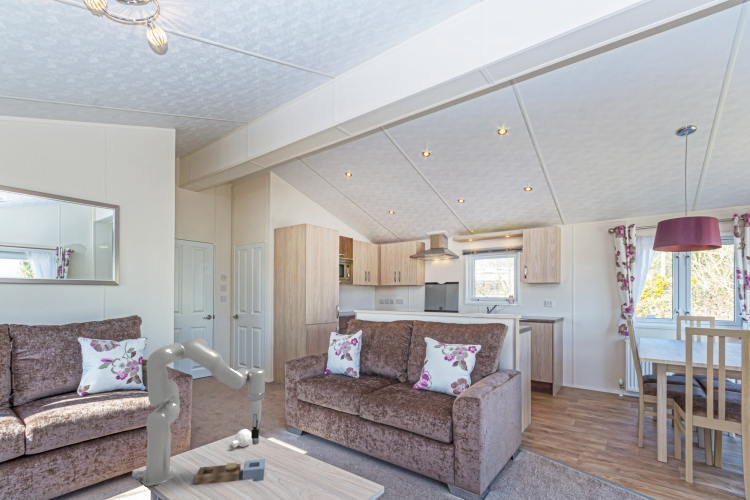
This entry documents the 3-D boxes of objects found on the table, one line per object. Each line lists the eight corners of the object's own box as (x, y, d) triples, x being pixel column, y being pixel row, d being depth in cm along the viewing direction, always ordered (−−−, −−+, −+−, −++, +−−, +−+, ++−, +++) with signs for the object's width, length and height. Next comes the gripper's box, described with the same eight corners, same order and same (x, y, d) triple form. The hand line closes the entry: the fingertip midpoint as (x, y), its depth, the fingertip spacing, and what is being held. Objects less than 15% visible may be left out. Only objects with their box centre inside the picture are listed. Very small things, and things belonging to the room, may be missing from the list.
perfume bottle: (243, 437, 221) (226, 447, 210) (246, 423, 219) (229, 432, 209) (254, 444, 217) (237, 455, 206) (257, 430, 215) (240, 440, 205)
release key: (225, 478, 175) (226, 466, 176) (226, 474, 179) (227, 463, 179) (235, 476, 176) (236, 465, 177) (236, 473, 180) (237, 462, 180)
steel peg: (251, 444, 179) (251, 422, 180) (252, 442, 182) (252, 420, 183) (258, 444, 180) (258, 421, 181) (259, 441, 183) (259, 419, 184)
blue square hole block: (242, 482, 174) (242, 470, 174) (244, 471, 184) (245, 460, 184) (263, 480, 176) (263, 468, 176) (264, 469, 186) (264, 459, 186)
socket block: (194, 487, 170) (195, 477, 170) (199, 476, 179) (199, 467, 180) (237, 482, 174) (238, 473, 174) (240, 472, 183) (240, 463, 184)
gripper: (249, 392, 190) (248, 431, 189) (246, 401, 174) (245, 444, 173) (265, 391, 192) (264, 429, 190) (263, 400, 176) (262, 442, 174)
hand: (255, 436), depth 181 cm, fingers closed on steel peg, 3 cm apart
